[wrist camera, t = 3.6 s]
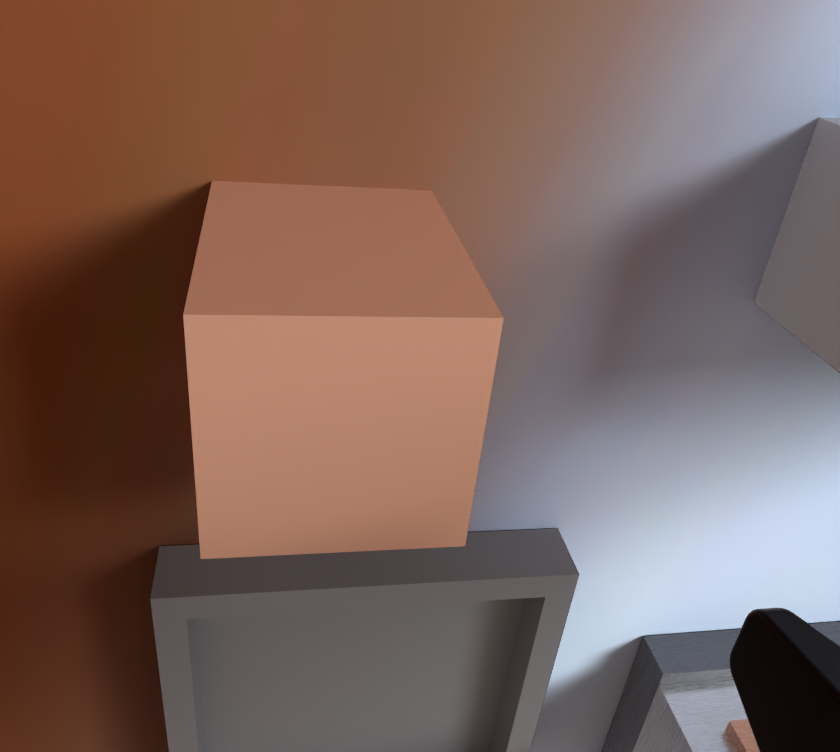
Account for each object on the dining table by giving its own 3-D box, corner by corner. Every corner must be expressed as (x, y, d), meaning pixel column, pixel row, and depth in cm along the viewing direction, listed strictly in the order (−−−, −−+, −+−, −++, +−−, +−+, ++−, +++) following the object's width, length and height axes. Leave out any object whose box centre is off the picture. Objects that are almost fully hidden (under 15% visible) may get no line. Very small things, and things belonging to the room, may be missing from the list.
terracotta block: (430, 190, 16) (504, 317, 11) (411, 371, 18) (465, 546, 13) (211, 180, 15) (183, 315, 10) (220, 372, 18) (200, 558, 13)
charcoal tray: (558, 528, 22) (579, 574, 20) (501, 756, 28) (514, 805, 26) (159, 546, 20) (150, 598, 18) (185, 789, 25) (180, 844, 24)
